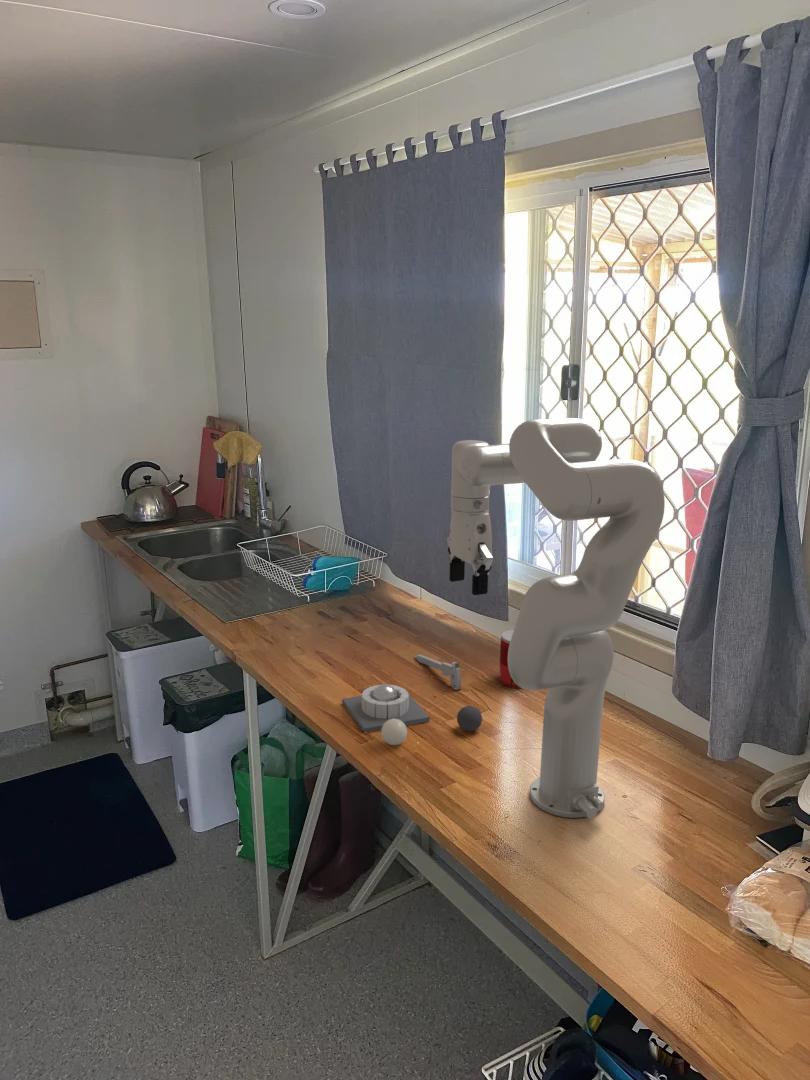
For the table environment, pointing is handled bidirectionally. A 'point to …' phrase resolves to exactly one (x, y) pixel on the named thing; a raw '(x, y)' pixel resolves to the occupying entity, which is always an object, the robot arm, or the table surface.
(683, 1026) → the table surface
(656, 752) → the table surface
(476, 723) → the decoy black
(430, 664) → the caliper
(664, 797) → the table surface
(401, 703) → the housing
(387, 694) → the steel ball
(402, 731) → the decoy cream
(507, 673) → the canned food
